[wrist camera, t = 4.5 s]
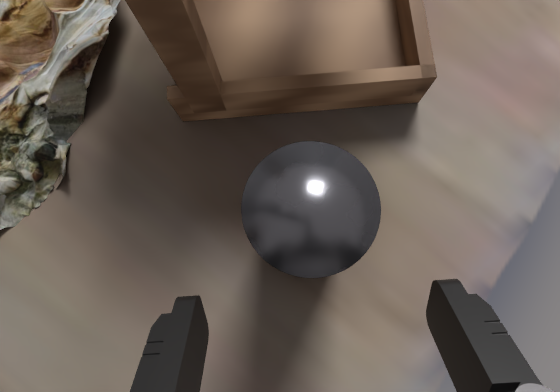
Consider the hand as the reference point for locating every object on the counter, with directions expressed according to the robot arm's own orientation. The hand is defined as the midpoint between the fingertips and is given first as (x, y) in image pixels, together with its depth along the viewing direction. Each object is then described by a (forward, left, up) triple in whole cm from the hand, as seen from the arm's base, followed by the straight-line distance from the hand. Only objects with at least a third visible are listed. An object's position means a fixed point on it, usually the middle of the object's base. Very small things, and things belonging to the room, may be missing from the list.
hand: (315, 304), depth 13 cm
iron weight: (0, +3, -8) cm, 9 cm away
